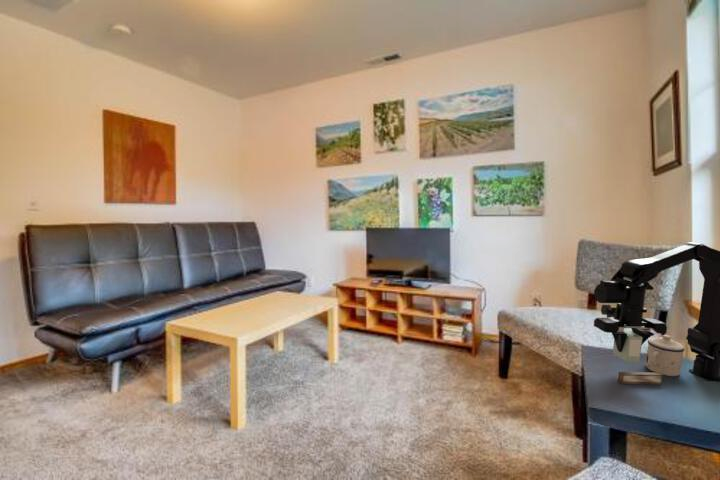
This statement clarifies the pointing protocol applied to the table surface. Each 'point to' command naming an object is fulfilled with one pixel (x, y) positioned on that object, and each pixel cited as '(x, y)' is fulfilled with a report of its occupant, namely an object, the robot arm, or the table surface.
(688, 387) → the table surface
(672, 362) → the teacup with lid
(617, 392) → the table surface
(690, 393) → the table surface
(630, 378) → the wooden block
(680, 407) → the table surface
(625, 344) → the sage tin
